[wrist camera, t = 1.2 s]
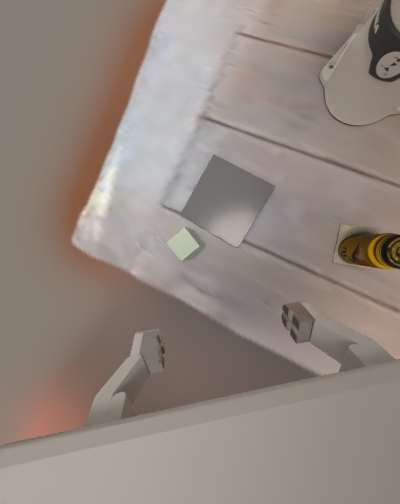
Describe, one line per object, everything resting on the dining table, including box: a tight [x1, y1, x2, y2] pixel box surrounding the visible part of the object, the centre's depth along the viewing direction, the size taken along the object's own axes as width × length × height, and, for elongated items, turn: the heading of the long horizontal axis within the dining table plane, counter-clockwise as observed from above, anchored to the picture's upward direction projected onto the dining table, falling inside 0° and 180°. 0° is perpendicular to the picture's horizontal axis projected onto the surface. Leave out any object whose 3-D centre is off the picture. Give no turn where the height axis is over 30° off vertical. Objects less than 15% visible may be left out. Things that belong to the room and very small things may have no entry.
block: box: [167, 227, 205, 261], centre depth 41 cm, size 5×5×8 cm
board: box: [180, 155, 275, 248], centre depth 43 cm, size 16×16×1 cm
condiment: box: [333, 224, 400, 269], centre depth 33 cm, size 7×8×12 cm
